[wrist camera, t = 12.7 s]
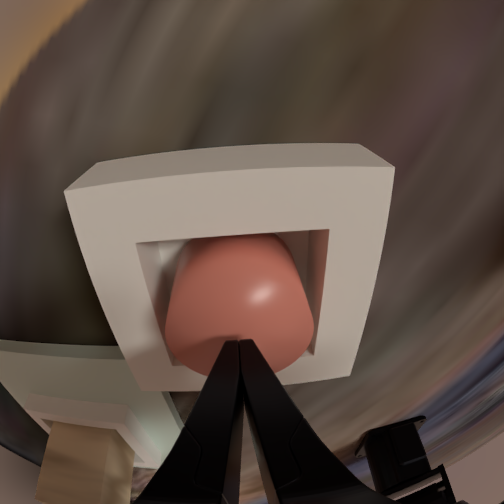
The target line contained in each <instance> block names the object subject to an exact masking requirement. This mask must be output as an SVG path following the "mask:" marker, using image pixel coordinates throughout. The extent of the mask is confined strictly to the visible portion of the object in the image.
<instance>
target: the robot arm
mask: <svg viewBox="0 0 504 504" xmlns="http://www.w3.org/2000/svg"><path fill="white" fill-rule="evenodd" d="M243 395H244V396H243ZM244 404H245V409H246V414H247V418H248V423H249V427H250V431H251V436H252V440H253V444H254V448H255V452H256V457H257V461H258V465H259V469H260V473H261V477H262V481H263V485H264V489H265V493H266V497H267V500H268V504H468V503H467V502H465V501H464V500H462V501H459V502H457V503H456V500H455V497H454V494H453V491H452V488H451V485H450V482H449V479H448V477H447V474H446V471H445V468H444V466H443V464H441V465H439V466H438V467H437V468H435V469H433V470H431V467H430V465H429V462H428V459H427V456H426V452H425V450H424V447H423V444H422V442H421V439H420V437H419V434H418V430H419V429H420V427H421V426H422V425H423V424H424V422H425V421H426V420H427V419H426V417H425V416H421V417H418V418H415V419H412V420H409V421H405V422H402V423H399V424H395V425H391V426H388V427H384V428H380V429H376V430H373V431H370V432H369V433H367V435H366V437H365V438H364V440H363V442H362V443H361V445H360V446H359V448H358V449H357V451H356V453H355V458H358V457H363V456H366V457H367V461H368V464H369V468H370V471H371V475H372V478H373V482H374V486H375V489H376V491H374V490H372V489H370V488H369V487H367V486H366V485H365V484H363V483H362V482H361V481H360V480H359V479H358V478H357V477H355V476H354V475H353V474H352V473H351V472H350V471H349V470H348V468H347V467H346V466H345V465H344V464H343V463H342V462H341V461H340V460H339V459H338V458H337V457H336V456H335V455H334V454H333V453H332V452H331V451H330V450H329V449H328V448H327V446H326V445H325V444H324V443H323V442H322V441H321V440H320V438H319V437H318V436H317V434H316V433H315V432H314V430H313V429H312V428H311V426H310V425H309V423H308V422H307V421H306V419H305V418H303V415H302V413H301V412H300V410H299V409H298V408H297V406H296V405H295V403H294V402H293V400H292V399H291V397H290V396H289V394H288V393H287V391H286V390H285V388H284V387H283V385H282V384H281V382H280V381H279V379H278V378H277V376H276V374H275V373H274V371H273V370H272V368H271V367H270V365H269V364H268V362H267V361H266V359H265V358H264V356H263V354H262V353H261V351H260V350H259V348H258V347H257V345H256V344H255V342H254V340H253V339H240V340H239V341H238V340H226V341H225V342H224V344H223V346H222V348H221V350H220V352H219V354H218V356H217V358H216V360H215V363H214V365H213V367H212V369H211V371H210V373H209V375H208V377H207V379H206V381H205V383H204V385H203V387H202V389H201V391H200V394H199V396H198V398H197V400H196V402H195V404H194V406H193V408H192V410H191V412H190V414H189V416H188V418H187V420H186V422H185V424H184V425H185V426H184V427H183V428H182V430H181V432H180V434H179V436H178V438H177V440H176V442H175V444H174V445H173V447H172V449H171V451H170V452H169V454H168V455H167V457H166V458H165V460H164V462H163V463H162V465H161V466H160V467H159V469H158V470H157V472H156V473H155V474H154V476H153V477H152V479H151V480H150V482H149V483H148V484H147V486H146V487H145V489H144V490H143V491H142V493H141V494H140V495H139V496H138V497H137V499H136V500H135V501H134V502H133V503H131V504H239V487H240V469H241V451H242V434H243V416H244ZM440 477H442V481H440V482H438V483H434V484H432V485H430V486H428V487H425V488H423V489H421V490H419V491H417V492H414V493H412V494H410V495H408V496H405V497H403V498H400V499H398V500H392V499H394V498H396V497H399V496H401V495H404V494H406V493H408V492H410V491H413V490H415V489H417V488H420V487H422V486H424V485H426V484H428V483H430V482H432V481H434V480H436V479H438V478H440ZM499 504H504V501H502V502H501V503H499Z"/></svg>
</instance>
